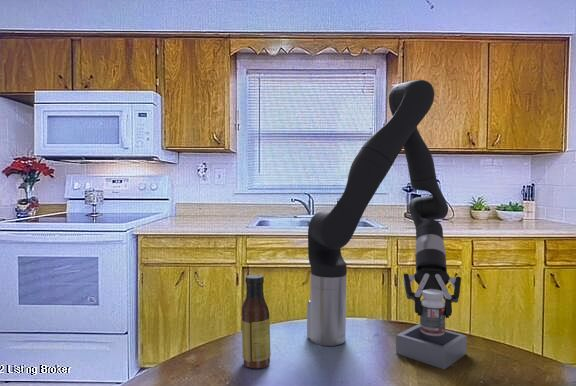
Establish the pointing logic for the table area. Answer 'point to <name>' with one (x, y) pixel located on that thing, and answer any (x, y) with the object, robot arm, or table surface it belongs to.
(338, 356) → the table surface
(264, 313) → the sauce bottle
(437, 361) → the bin
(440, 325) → the pill bottle
